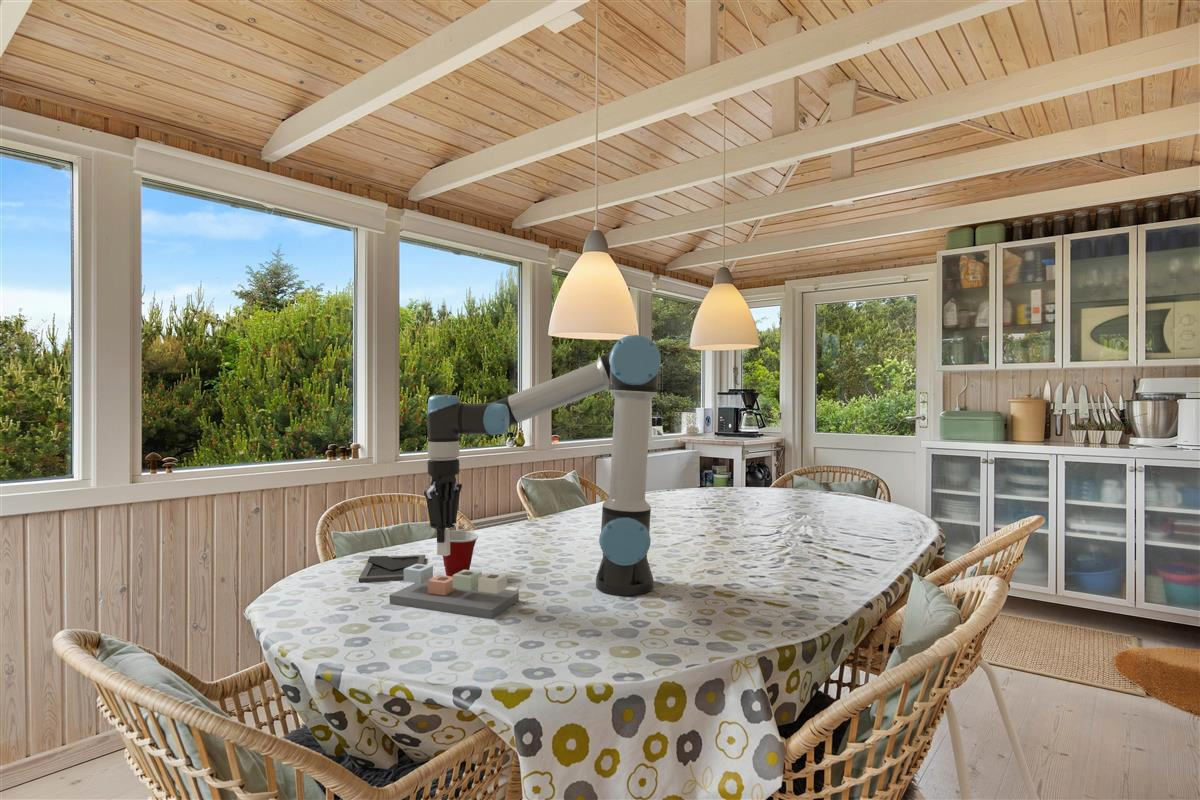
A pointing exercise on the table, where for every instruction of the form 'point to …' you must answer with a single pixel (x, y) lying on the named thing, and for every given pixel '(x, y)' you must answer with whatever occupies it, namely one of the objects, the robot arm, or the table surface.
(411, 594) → the keypad base
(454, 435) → the robot arm
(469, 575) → the key sage
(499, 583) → the key ivory
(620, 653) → the table surface
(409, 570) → the key blue
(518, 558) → the table surface
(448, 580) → the key terracotta
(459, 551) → the plastic cup
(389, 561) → the picture frame
